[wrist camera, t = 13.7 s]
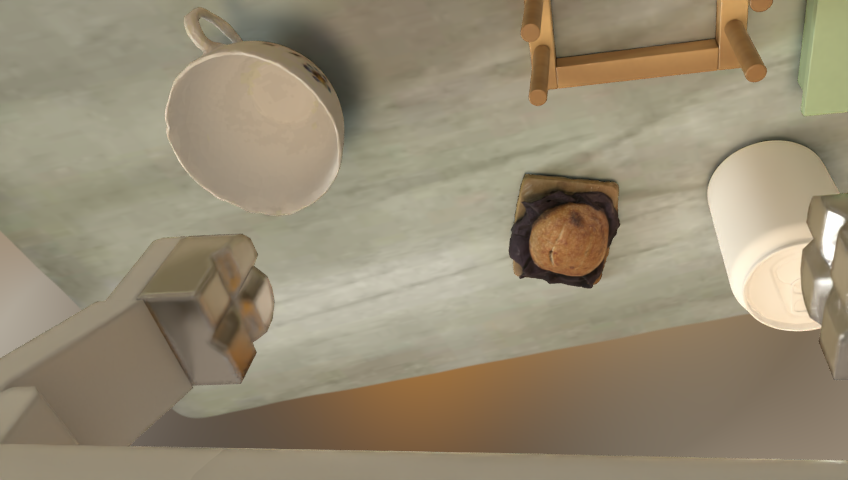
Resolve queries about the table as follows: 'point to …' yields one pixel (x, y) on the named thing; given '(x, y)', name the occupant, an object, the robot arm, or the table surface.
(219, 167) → the teacup
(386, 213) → the table surface
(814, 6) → the green low rectangular block
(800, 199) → the beverage can
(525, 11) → the dish rack
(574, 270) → the bread roll
